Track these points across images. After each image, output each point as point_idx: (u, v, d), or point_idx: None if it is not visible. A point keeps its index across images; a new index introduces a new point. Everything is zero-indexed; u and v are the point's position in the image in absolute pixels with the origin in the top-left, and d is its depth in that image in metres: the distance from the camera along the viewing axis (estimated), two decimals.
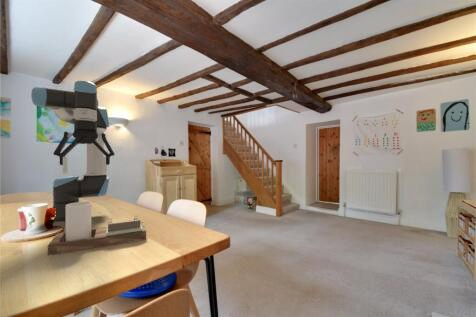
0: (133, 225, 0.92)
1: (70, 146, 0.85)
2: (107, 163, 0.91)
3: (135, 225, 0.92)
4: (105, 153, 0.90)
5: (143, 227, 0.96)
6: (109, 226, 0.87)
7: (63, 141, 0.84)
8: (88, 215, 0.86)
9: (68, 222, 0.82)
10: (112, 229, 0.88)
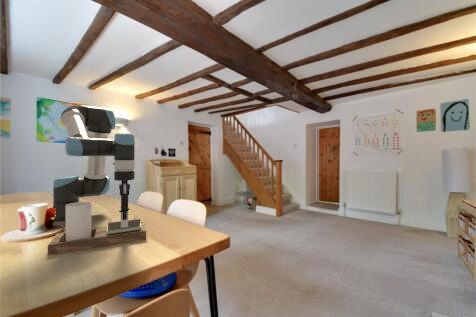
0: (133, 224, 0.93)
1: None
2: (122, 218, 0.90)
3: (135, 224, 0.94)
4: None
5: (143, 227, 0.96)
6: (109, 225, 0.89)
7: None
8: (88, 215, 0.86)
9: (68, 222, 0.82)
10: (112, 228, 0.90)
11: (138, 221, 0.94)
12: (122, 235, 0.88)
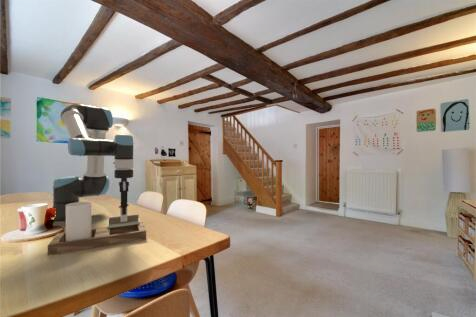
0: (132, 219, 1.01)
1: None
2: (122, 213, 0.97)
3: (133, 219, 1.01)
4: None
5: (143, 227, 0.96)
6: (110, 219, 0.96)
7: None
8: (88, 215, 0.86)
9: (68, 222, 0.82)
10: (112, 222, 0.97)
11: (136, 216, 1.02)
12: (122, 235, 0.88)
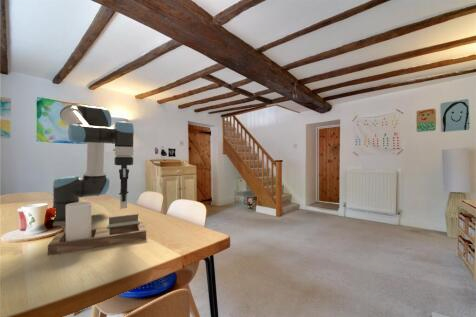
0: (131, 218, 1.01)
1: None
2: (122, 200, 0.98)
3: (133, 218, 1.02)
4: None
5: (143, 227, 0.96)
6: (110, 219, 0.97)
7: None
8: (88, 215, 0.86)
9: (68, 222, 0.82)
10: (112, 222, 0.98)
11: (136, 216, 1.03)
12: (122, 235, 0.88)
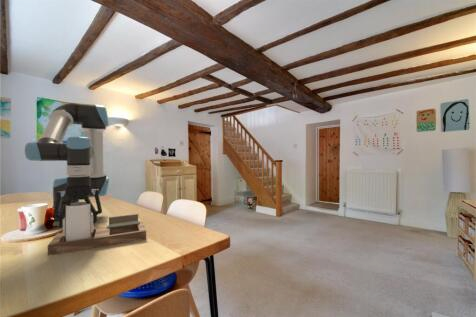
0: (131, 218, 1.01)
1: None
2: (94, 222, 0.88)
3: (133, 218, 1.02)
4: (93, 211, 0.88)
5: (143, 227, 0.96)
6: (110, 219, 0.97)
7: (58, 202, 0.82)
8: (88, 215, 0.86)
9: (68, 222, 0.82)
10: (112, 222, 0.98)
11: (136, 216, 1.03)
12: (122, 235, 0.88)
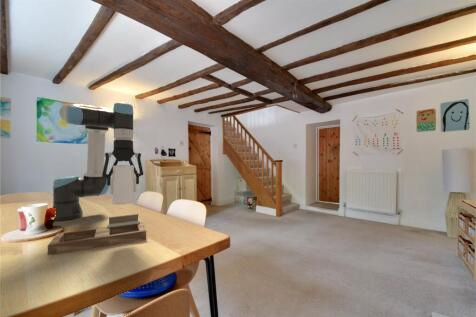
0: (131, 218, 1.01)
1: None
2: (137, 182, 0.96)
3: (133, 218, 1.02)
4: (136, 173, 0.95)
5: (143, 227, 0.96)
6: (110, 219, 0.97)
7: (107, 162, 0.90)
8: (132, 175, 0.93)
9: (116, 181, 0.90)
10: (112, 222, 0.98)
11: (136, 216, 1.03)
12: (122, 235, 0.88)
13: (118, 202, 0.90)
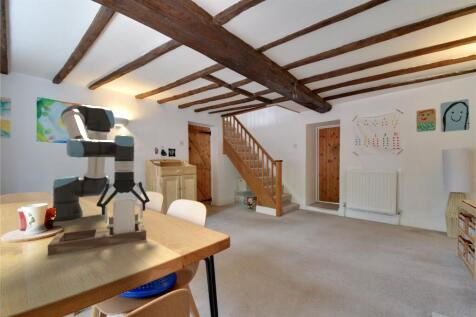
0: None
1: (111, 197, 0.91)
2: (143, 209, 0.97)
3: None
4: (142, 200, 0.96)
5: (143, 227, 0.96)
6: (110, 219, 0.97)
7: (105, 193, 0.90)
8: (133, 210, 0.94)
9: (117, 217, 0.90)
10: (112, 222, 0.98)
11: (136, 216, 1.03)
12: (122, 235, 0.88)
13: None
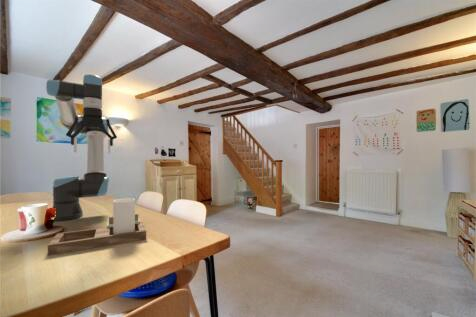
0: None
1: (80, 129, 1.02)
2: (111, 144, 1.08)
3: None
4: (109, 136, 1.07)
5: (143, 227, 0.96)
6: (110, 219, 0.97)
7: (74, 124, 1.00)
8: (133, 210, 0.94)
9: (117, 217, 0.90)
10: (112, 222, 0.98)
11: (136, 216, 1.03)
12: (122, 235, 0.88)
13: None
